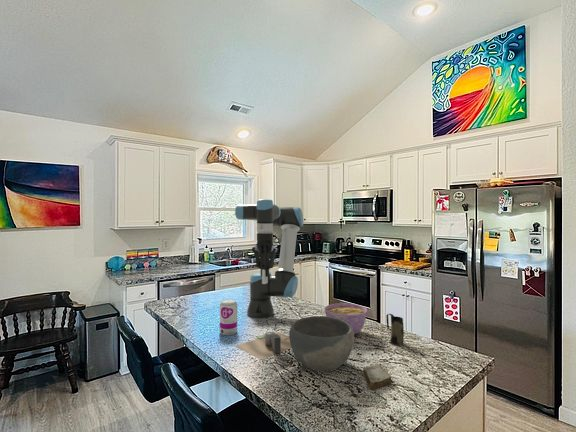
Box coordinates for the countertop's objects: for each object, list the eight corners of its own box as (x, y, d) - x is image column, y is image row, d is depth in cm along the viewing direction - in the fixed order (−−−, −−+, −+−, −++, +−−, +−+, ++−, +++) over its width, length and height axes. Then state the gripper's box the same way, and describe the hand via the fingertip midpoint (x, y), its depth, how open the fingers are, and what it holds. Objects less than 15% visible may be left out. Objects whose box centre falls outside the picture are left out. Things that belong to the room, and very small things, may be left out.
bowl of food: (371, 329, 162) (371, 306, 162) (362, 344, 144) (362, 317, 144) (331, 323, 170) (331, 301, 170) (318, 336, 152) (318, 311, 152)
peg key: (258, 335, 150) (258, 321, 150) (268, 334, 151) (268, 320, 151) (272, 354, 130) (272, 338, 130) (282, 352, 131) (282, 337, 131)
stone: (360, 369, 121) (360, 361, 121) (383, 370, 120) (383, 361, 120) (370, 391, 106) (370, 382, 106) (396, 391, 106) (396, 382, 106)
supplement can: (233, 336, 153) (233, 304, 153) (217, 335, 155) (217, 303, 155) (239, 330, 161) (239, 299, 161) (223, 329, 163) (223, 298, 162)
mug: (406, 344, 144) (406, 316, 144) (398, 347, 141) (398, 318, 141) (391, 338, 150) (391, 312, 150) (383, 341, 147) (383, 314, 147)
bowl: (338, 389, 107) (338, 342, 107) (276, 370, 120) (276, 328, 120) (364, 360, 127) (364, 321, 127) (308, 347, 140) (308, 312, 140)
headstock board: (274, 333, 157) (274, 330, 156) (305, 345, 142) (305, 342, 142) (231, 347, 140) (231, 344, 140) (261, 362, 125) (261, 358, 125)
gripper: (248, 232, 153) (248, 283, 153) (273, 233, 147) (273, 286, 147) (257, 232, 160) (257, 280, 160) (281, 232, 154) (281, 283, 154)
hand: (264, 283), depth 154 cm, fingers closed
